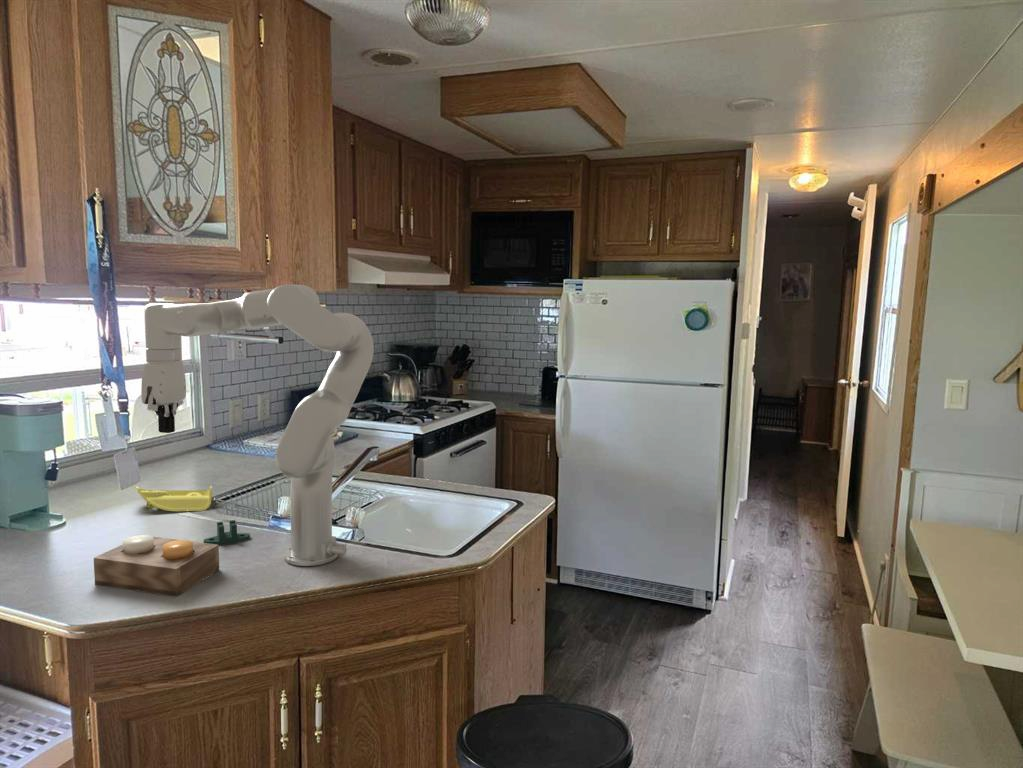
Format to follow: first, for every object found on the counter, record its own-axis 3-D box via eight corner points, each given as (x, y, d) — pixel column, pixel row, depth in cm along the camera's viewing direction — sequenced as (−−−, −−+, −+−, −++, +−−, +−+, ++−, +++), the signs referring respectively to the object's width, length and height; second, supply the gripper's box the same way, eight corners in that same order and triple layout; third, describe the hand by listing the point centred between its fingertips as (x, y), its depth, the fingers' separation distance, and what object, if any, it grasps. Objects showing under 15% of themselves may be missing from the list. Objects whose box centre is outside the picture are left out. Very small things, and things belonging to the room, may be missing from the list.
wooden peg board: (219, 569, 153) (218, 544, 152) (176, 596, 139) (176, 568, 139) (143, 559, 157) (142, 535, 156) (94, 584, 143) (93, 557, 143)
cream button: (160, 562, 151) (159, 536, 150) (140, 572, 145) (139, 546, 145) (137, 559, 152) (136, 533, 152) (117, 569, 147) (115, 543, 146)
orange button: (199, 567, 149) (199, 541, 148) (181, 578, 143) (180, 551, 143) (176, 564, 150) (175, 538, 150) (156, 574, 145) (155, 548, 144)
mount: (204, 548, 166) (203, 528, 165) (202, 542, 170) (202, 523, 169) (251, 541, 171) (251, 522, 170) (248, 536, 175) (248, 517, 174)
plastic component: (212, 490, 204) (212, 485, 195) (210, 515, 201) (210, 510, 193) (138, 490, 196) (134, 485, 187) (136, 516, 194) (131, 511, 185)
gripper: (172, 352, 166) (174, 425, 169) (126, 357, 152) (129, 437, 154) (199, 354, 165) (201, 427, 167) (155, 359, 150) (158, 439, 153)
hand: (166, 431), depth 161 cm, fingers closed
